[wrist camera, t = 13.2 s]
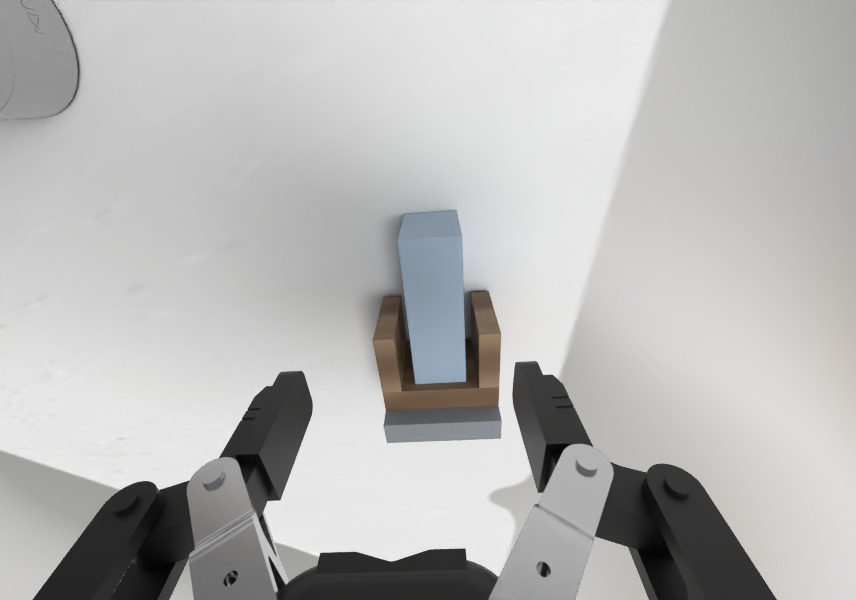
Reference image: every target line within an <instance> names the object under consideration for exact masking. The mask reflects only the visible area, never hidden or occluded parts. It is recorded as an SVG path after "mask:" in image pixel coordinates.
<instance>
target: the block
mask: <svg viewBox="0 0 856 600" xmlns="http://www.w3.org/2000/svg"><path fill="white" fill-rule="evenodd" d="M373 344H374V349H375V355H376V360H377V365H378V371H379V376H380V381H381V386H382V392H383V397H384V402H385V408H386V411H389V410H412V409H435V408H458V407H481V406H498V401H499V375H500V348H501V332H500V328H499V325H498V322H497V318H496V315H495V312H494V308H493V305H492V301H491V298H490V295H489V291H486V292H471V340H465V359H466V382H452V383H432V384H415V376H414V368H413V360H412V352H411V344H410V343H407V340H406V332H405V324H404V317H403V309H402V301H401V297H384V298H383V302H382V306H381V310H380V314H379V318H378V322H377V326H376V330H375V334H374V338H373Z"/></svg>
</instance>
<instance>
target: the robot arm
mask: <svg viewBox="0 0 856 600" xmlns="http://www.w3.org/2000/svg"><path fill="white" fill-rule="evenodd" d="M77 78H78V67H77V60H76V53H75V50H74V47H73V44H72V41H71V38H70V35H69V32H68V30H67V28H66V26H65V24H64V22H63V20H62V18H61V16H60V14H59V12H58V10H57V9H56V7H55V6H54V4H53V3H52V1H51V0H0V120H4V119H28V118H44V117H48V116H52V115H56V114H57V113H59V112H60V111H62V110H63V109H65V108H66V107H67V105H68V104H69V103H70V101H71V100H72V99H73V96H74V93H75V90H76V87H77ZM513 405H514V410H515V413H516V417H517V420H518V424H519V427H520V431H521V434H522V438H523V442H524V445H525V449H526V452H527V456H528V459H529V463H530V466H531V470H532V473H533V476H534V480H535V484H536V487H537V491H538V493H540V492H544V493H543V495H542V497H541V499H540V501H539V503H538V504H537V505H534V507H533V508H532V510H531V512H530V514H529V516H528V518H527V520H526V522H525V524H524V527H523V528H522V530H521V532H520V534H519V537H518V539H517V541H516V543H515V545H514V547H513V549H512V551H511V553H510V555H509V557H508V559H507V562H506V564H505V566H504V568H503V570H502V572H501V574H500V576H499V577H498V576H496V575H495V574H494V573H493V572H491V571H490V570H488V569H486V568H485V567H483V566H481V565H479V564H477V563H474V562H471V561H468V560H466V549H434V550H427V551H424V552H421V553H418V554H415V555H412V556H409V557H406V558H403V559H400V560H397V561H392V562H390V561H386V560H382V559H379V558H375V557H372V556H368V555H365V554H361V553H358V552H335V553H320V557H319V561H318V565H317V566H315V567H313V568H310V569H308V570H306V571H304V572H303V573H301V574H299V575H298V576H296V577H295V578H294V579H292V580H291V581H290V582H289V581H288V578H287V576H286V574H285V571H284V569H283V567H282V564H281V561H280V558H279V555H278V552H277V549H276V546H275V543H274V540H273V538H272V535H271V532H270V529H269V526H268V523H267V520H266V517H265V514H264V512H263V511H264V508H265V506H266V503H267V501H275V500H281V497H282V494H283V491H284V489H285V486H286V483H287V481H288V478H289V475H290V473H291V470H292V467H293V464H294V462H295V459H296V456H297V454H298V451H299V448H300V446H301V443H302V440H303V437H304V435H305V432H306V429H307V427H308V424H309V421H310V418H311V415H312V409H313V404H312V398H311V395H310V392H309V389H308V385H307V382H306V379H305V376H304V373H303V372H302V371H290V372H281V373H279V375H278V376H277V378H276V380H275V382H274V384H273V386H266V387H265V388H264V389H263V390H262V391H261V392H260V393H259V394H257V395H256V396H255V397H254V399H253V401H252V403H251V404H250V406H249V408H248V411H246V413H245V414H244V416H243V418H242V421H240V423H239V425H238V426H237V428H236V430H235V432H234V433H233V435H232V437H231V438H230V440H229V442H228V443H227V445H226V447H225V449H224V450H223V452H222V454H221V455H220V457H219V458H218V459H215V460H213V461H210V462H209V463H207V464H205V465H204V466H202V467H201V468H200V469H199V470H198V471H197V472H196V473H195V474H194V475H193V476H192V478H191V479H190V480H189V481H187V482H183V483H180V484H177V485H174V486H171V487H168V488H165V489H161V490H159V489H158V488H157V487H156V485H155V484H154V483H152V482H149V481H142V482H137V483H134V484H131V485H129V486H127V487H125V488H123V489H122V490H120V491H119V492H117V493H116V494H114V495H113V496H112V497H111V498H110V499H109V500H108V501H107V502H106V503H105V504H104V505H103V507H102V508H101V509H100V510H99V512H98V513H97V514H96V516H95V517H94V519H93V520H92V521H91V522H90V524H89V525H88V526H87V528H86V529H85V530H84V532H83V533H82V534H81V536H80V537H79V538H78V540H77V541H76V543H75V544H74V545H73V547H72V548H71V549H70V550H69V552H68V553H67V554H66V556H65V557H64V558H63V560H62V561H61V563H60V564H59V565H58V566H57V568H56V569H55V570H54V572H53V573H52V575H51V576H50V577H49V579H48V580H47V581H46V583H45V584H44V585H43V586H42V588H41V589H40V590H39V592H38V593H37V595H36V596H35V597H34V599H33V600H169V599H170V597H171V595H172V593H173V590H174V588H175V586H176V584H177V582H178V580H179V578H180V576H181V574H182V571H183V569H184V567H185V565H186V563H187V561H188V559H189V565H190V573H191V581H192V589H193V596H194V600H575V599H576V595H577V592H578V589H579V586H580V583H581V580H582V576H583V573H584V570H585V567H586V564H587V560H588V557H589V554H590V551H591V547H592V544H593V541H594V537H595V536H596V537H599V538H602V539H605V540H608V541H611V542H615V543H618V544H621V545H624V546H627V547H628V548H629V550H630V553H631V555H632V558H633V560H634V563H635V565H636V568H637V570H638V573H639V575H640V578H641V581H642V583H643V585H644V588H645V590H646V593H647V596H648V598H649V600H777V599H776V598H775V596H774V595H773V593H772V592H771V590H770V589H769V587H768V586H767V584H766V583H765V581H764V580H763V578H762V576H761V575H760V573H759V572H758V570H757V569H756V567H755V566H754V564H753V563H752V561H751V560H750V558H749V556H748V555H747V554H746V552H745V550H744V549H743V547H742V546H741V544H740V543H739V541H738V540H737V538H736V537H735V535H734V533H733V532H732V531H731V529H730V527H729V526H728V524H727V523H726V521H725V520H724V518H723V517H722V515H721V514H720V512H719V510H718V509H717V507H716V506H715V504H714V503H713V501H712V500H711V498H710V497H709V495H708V494H707V492H706V491H705V489H704V488H703V486H702V485H701V484H700V483H699V481H698V480H697V479H696V478H694V477H693V476H692V475H691V474H689V473H688V472H686V471H685V470H683V469H681V468H679V467H676V466H673V465H669V464H656V465H653V466H652V467H650V468H649V470H648V471H647V473H646V472H642V471H638V470H633V469H630V468H626V467H622V466H619V465H616V464H614V463H612V462H610V461H609V459H608V458H607V457H606V456H605V455H604V454H603V453H602V452H600V451H599V450H597V449H596V448H594V447H593V445H592V443H591V442H590V439H589V437H588V435H587V433H586V431H585V429H584V427H583V425H582V423H581V421H580V419H579V417H578V415H577V412H576V411H575V409H574V408H573V404H572V402H571V400H570V399H569V396H568V394H567V392H566V390H565V387H564V386H563V384H562V383H561V382H560V381H559V380H558V379H557V378H555V377H554V376H553V375H543V374H542V372H541V369H540V367H539V365H538V363H537V362H536V361H531V362H516V363H515V370H514V382H513ZM129 565H130V566H129ZM126 570H127V571H126ZM123 575H124V576H123ZM120 580H121V581H120ZM117 585H118V586H117ZM116 587H117V588H116ZM114 590H115V591H114ZM113 592H114V593H113Z"/></svg>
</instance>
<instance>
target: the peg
mask: <svg viewBox="0 0 856 600" xmlns="http://www.w3.org/2000/svg"><path fill="white" fill-rule="evenodd" d="M397 241H398V249H399V257H400V265H401V273H402V281H403V289H404V297H405V305H406V313H407V321H408V329H409V337H410V344H411V352H412V360H413V368H414V376H415V384H432V383H452V382H466V359H465V325H464V290H463V256H462V234H461V229H460V225H459V220H458V216H457V211H456V210H448V211H435V212H421V213H407V214H404V216H403V220H402V224H401V228H400V232H399V235H398V239H397Z"/></svg>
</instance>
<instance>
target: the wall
mask: <svg viewBox="0 0 856 600" xmlns="http://www.w3.org/2000/svg"><path fill="white" fill-rule="evenodd" d="M501 422H502V421H501V416H500V411H499V407H498V406H481V407H458V408H435V409H412V410H389V411H386V414H385V421H384V429H385V434H386V439H387V443H397V442H423V441H449V440H474V439H500V438H501Z"/></svg>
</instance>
